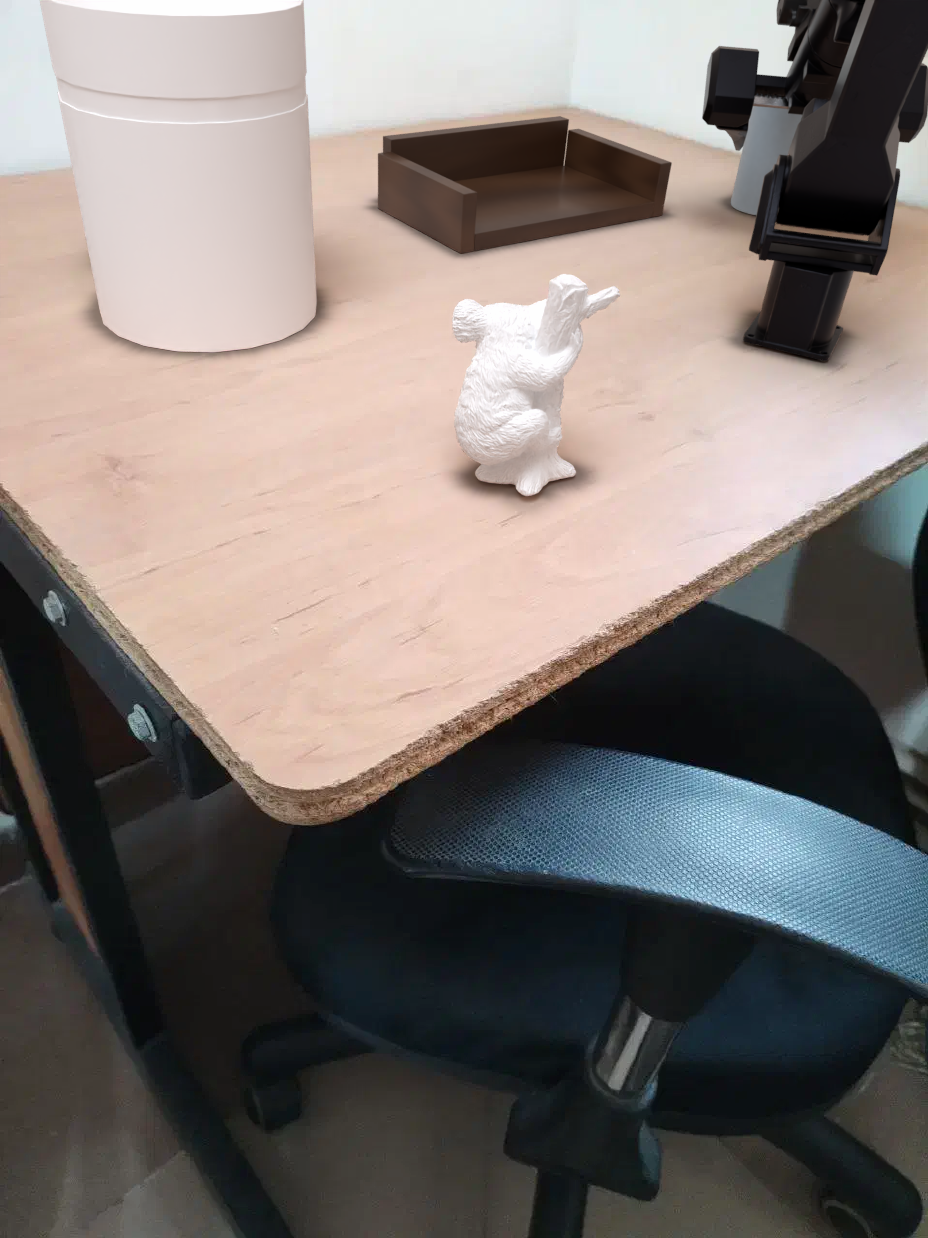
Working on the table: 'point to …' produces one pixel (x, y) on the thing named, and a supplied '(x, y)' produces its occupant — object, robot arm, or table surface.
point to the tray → (515, 182)
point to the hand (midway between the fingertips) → (786, 150)
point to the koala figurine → (521, 381)
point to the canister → (190, 165)
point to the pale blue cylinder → (761, 153)
